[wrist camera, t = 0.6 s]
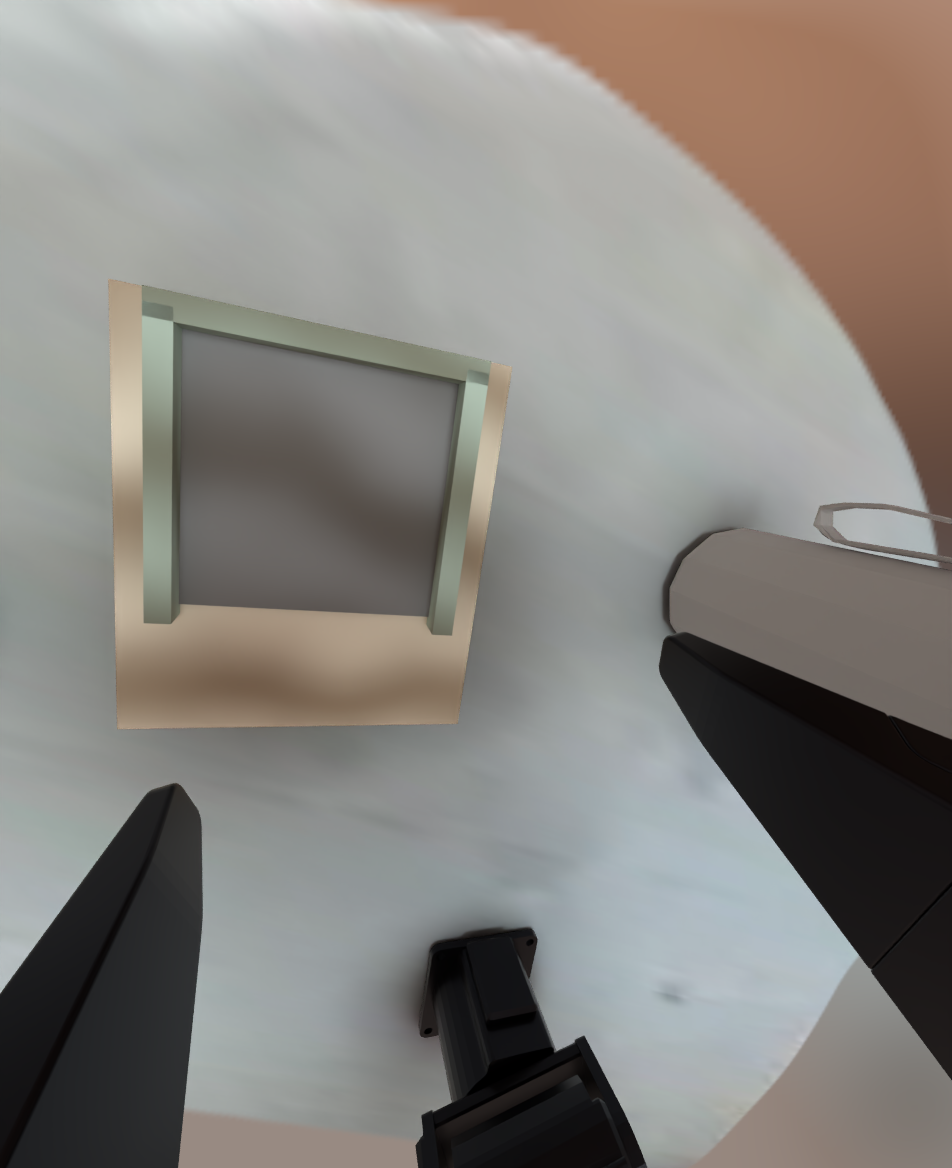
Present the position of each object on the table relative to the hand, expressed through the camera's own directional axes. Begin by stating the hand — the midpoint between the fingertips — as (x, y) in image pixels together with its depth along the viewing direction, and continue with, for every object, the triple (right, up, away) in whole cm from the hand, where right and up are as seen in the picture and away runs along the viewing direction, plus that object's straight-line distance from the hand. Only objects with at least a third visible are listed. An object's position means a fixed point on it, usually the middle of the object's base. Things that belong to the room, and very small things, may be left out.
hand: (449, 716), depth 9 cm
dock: (-6, +4, +12) cm, 14 cm away
